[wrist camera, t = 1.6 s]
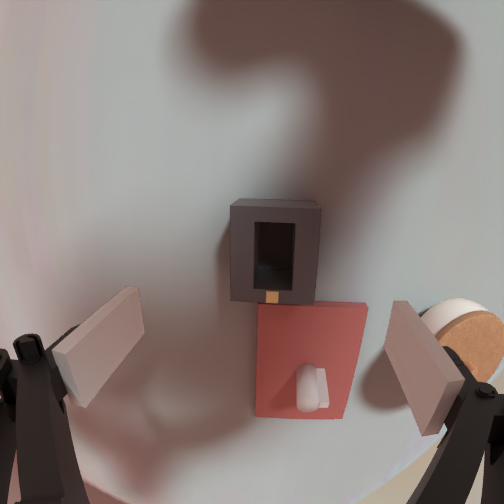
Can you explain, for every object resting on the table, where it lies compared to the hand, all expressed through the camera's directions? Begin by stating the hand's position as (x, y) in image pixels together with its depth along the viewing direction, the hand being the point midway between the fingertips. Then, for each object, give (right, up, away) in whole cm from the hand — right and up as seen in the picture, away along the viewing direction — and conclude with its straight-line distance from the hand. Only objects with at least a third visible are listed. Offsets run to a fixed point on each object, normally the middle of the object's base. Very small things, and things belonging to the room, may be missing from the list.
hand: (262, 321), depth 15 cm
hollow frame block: (+2, +4, +14) cm, 15 cm away
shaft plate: (+6, -9, +18) cm, 21 cm away
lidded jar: (+21, -5, +15) cm, 26 cm away
